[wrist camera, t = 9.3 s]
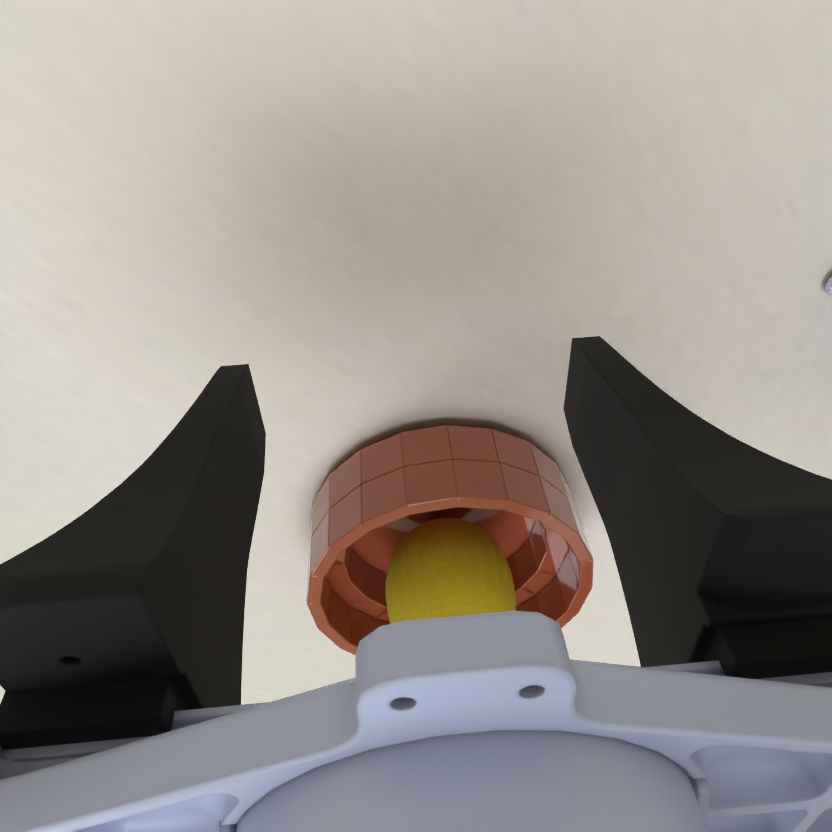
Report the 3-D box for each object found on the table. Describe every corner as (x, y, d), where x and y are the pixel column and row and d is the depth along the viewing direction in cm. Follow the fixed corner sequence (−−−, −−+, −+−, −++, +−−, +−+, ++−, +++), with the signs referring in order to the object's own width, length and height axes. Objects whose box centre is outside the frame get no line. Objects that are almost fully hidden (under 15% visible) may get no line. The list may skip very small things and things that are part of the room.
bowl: (619, 466, 32) (652, 545, 29) (483, 610, 39) (496, 688, 36) (380, 380, 28) (385, 461, 25) (274, 558, 35) (265, 641, 31)
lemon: (373, 555, 35) (379, 713, 28) (393, 476, 31) (404, 637, 25) (482, 562, 36) (510, 716, 29) (512, 486, 32) (551, 643, 26)
